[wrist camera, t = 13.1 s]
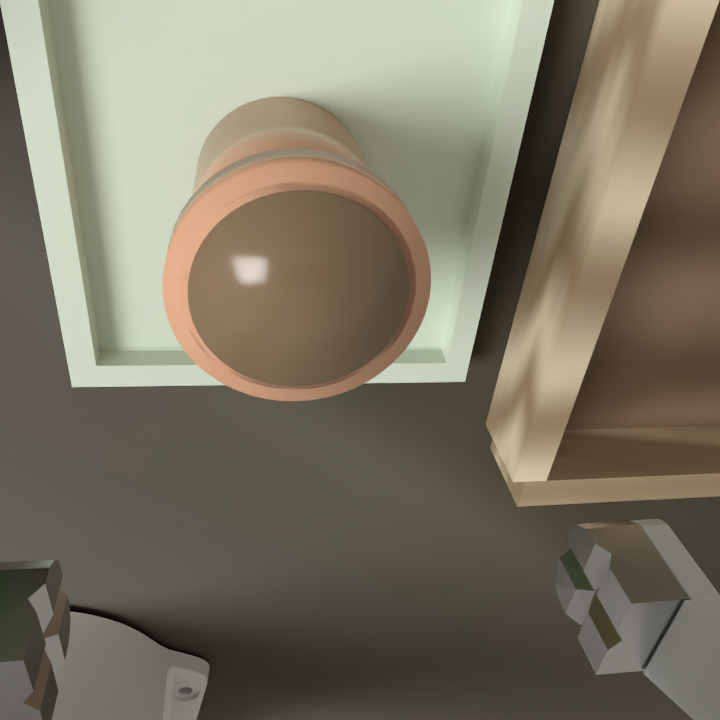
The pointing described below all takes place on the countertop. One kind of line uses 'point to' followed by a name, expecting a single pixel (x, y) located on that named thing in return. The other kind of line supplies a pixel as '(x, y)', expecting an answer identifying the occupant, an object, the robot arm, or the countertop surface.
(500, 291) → the countertop surface
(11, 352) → the countertop surface
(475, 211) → the sage tray
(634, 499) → the wooden box
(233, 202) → the seedling pot
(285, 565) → the countertop surface
